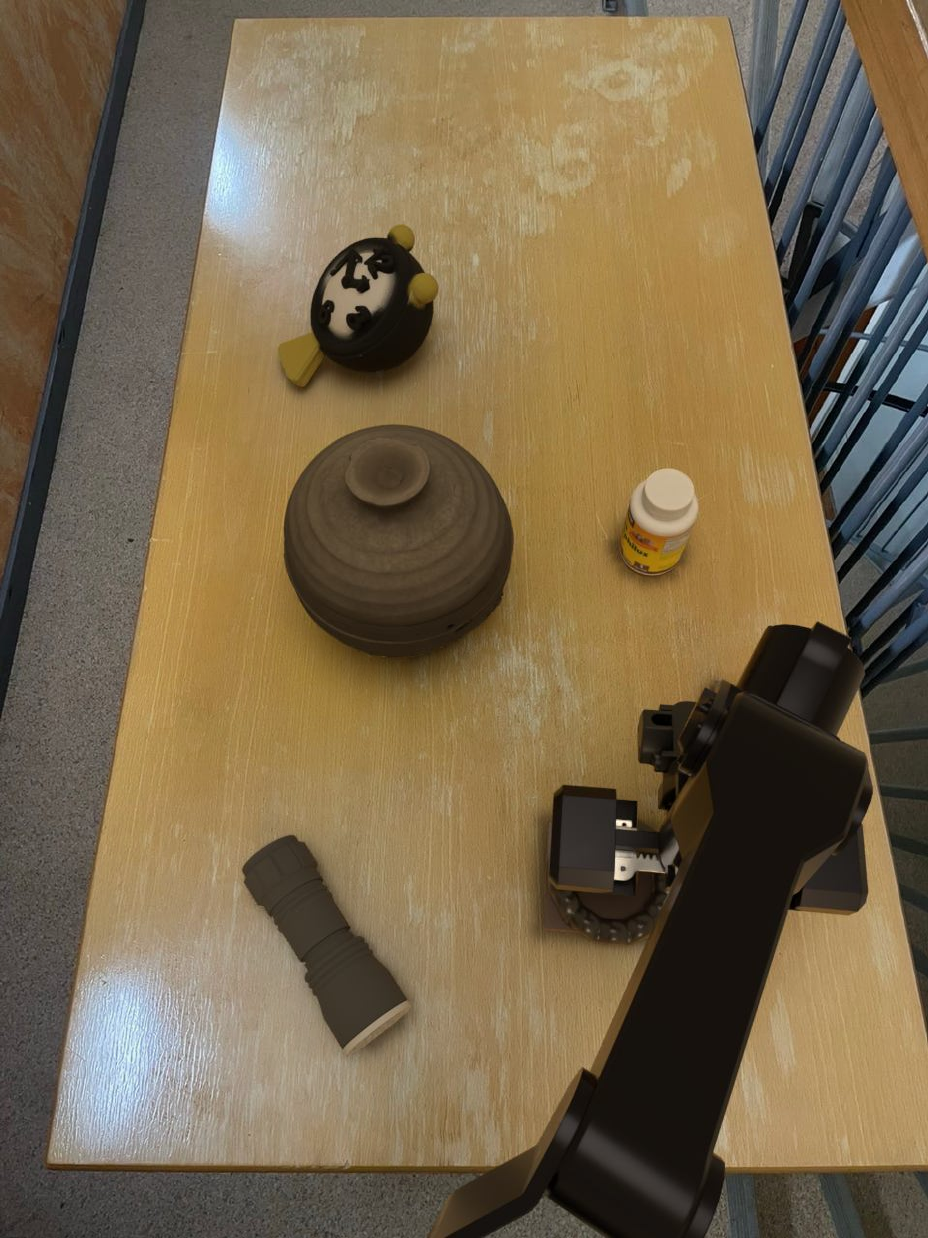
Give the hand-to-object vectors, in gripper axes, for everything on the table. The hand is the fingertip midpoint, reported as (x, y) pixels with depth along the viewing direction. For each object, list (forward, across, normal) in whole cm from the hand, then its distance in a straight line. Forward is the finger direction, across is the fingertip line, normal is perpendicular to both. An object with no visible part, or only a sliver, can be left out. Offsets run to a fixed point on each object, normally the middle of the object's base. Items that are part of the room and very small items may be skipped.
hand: (682, 871), depth 64 cm
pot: (+6, +23, -23) cm, 33 cm away
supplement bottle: (+6, +2, -29) cm, 30 cm away
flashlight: (+6, +25, +7) cm, 27 cm away
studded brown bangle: (+4, +4, 0) cm, 6 cm away
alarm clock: (+5, +30, -50) cm, 58 cm away
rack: (+6, +5, 0) cm, 8 cm away
